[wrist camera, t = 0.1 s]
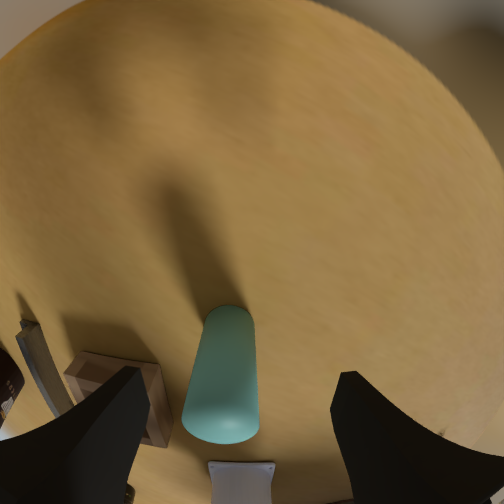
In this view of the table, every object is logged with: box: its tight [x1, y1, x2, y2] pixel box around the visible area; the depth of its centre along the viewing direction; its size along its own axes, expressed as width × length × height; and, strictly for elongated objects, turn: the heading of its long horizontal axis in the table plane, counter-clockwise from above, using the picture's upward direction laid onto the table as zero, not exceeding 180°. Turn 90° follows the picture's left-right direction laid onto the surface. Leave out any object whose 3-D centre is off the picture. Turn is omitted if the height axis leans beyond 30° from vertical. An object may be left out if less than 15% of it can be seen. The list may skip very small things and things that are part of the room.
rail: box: [15, 319, 74, 418], centre depth 19 cm, size 12×3×3 cm, turn 178°
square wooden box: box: [63, 351, 173, 448], centre depth 19 cm, size 8×8×4 cm
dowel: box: [181, 305, 259, 444], centre depth 15 cm, size 4×4×9 cm
